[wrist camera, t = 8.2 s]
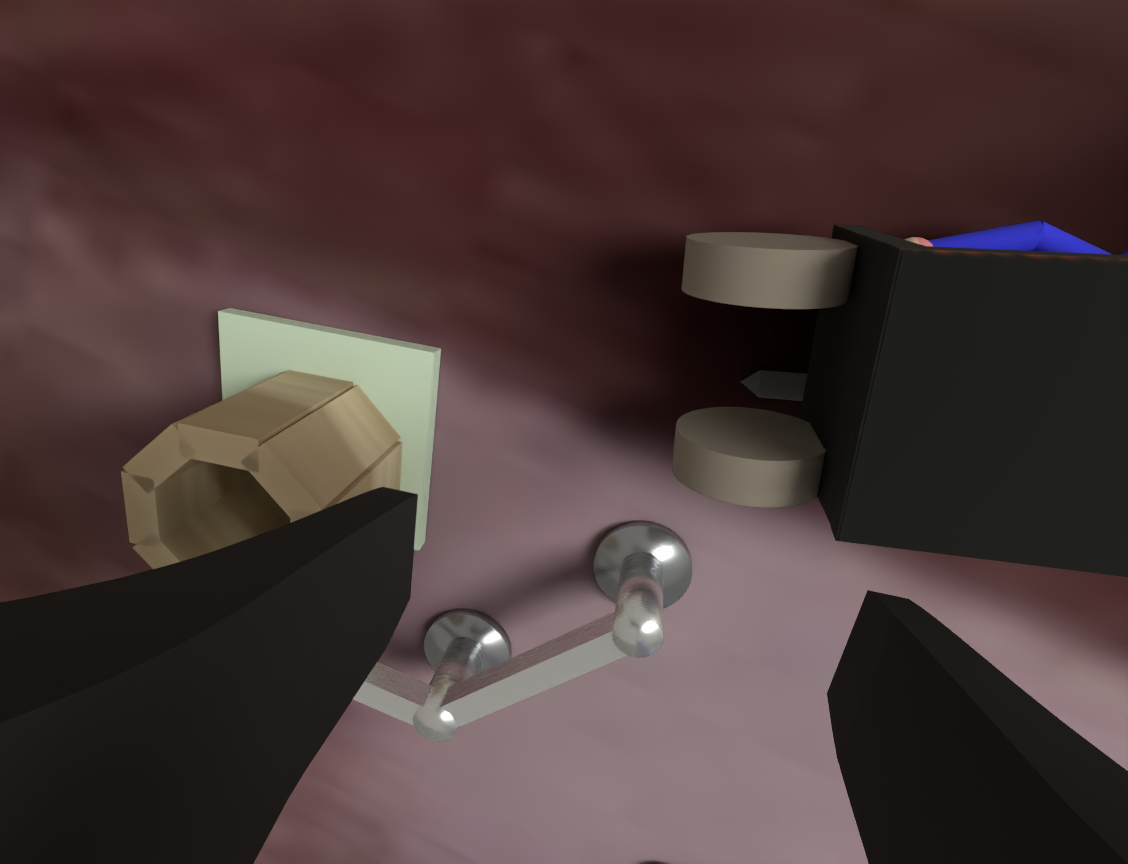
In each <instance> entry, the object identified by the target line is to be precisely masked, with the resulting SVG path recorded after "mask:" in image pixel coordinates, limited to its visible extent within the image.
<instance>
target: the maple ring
mask: <svg viewBox="0 0 1128 864" xmlns="http://www.w3.org/2000/svg"><path fill="white" fill-rule="evenodd" d="M400 438H401V437H400V436H399V434H398V433H397V432H396V431H395V429H394V428H393V427H392V426H391V425H390V423H389V422H388V421H387V420H386V418H385V417H384V416H383V415H382V414H381V412H380V411H379V410H378V409H377V408H376V406H375V405H374V404H373V403H372V401H371V400H370V399H369V398H368V397H367V395H366V394H365V393H364V392H363V390H362V389H361V388H360V387H359V386H358V385H357V386H355V387H354V388H353V382H351V381H345V380H340V379H335V378H330V377H325V376H319V375H314V374H309V373H304V372H298V371H293V370H289V371H287V372H286V371H285V372H282V373H280V374H278V375H276V376H274V377H272V378H270V379H267V380H265V381H263V382H261V383H259V384H257V385H254V386H252V387H250V388H248V389H246V390H244V391H242V392H239V393H237V394H235V395H233V396H231V397H229V398H227V399H224V400H222V401H220V402H218V403H216V404H214V405H211V406H209V407H207V408H205V409H203V410H201V411H199V412H196V413H194V414H192V415H190V416H188V417H186V418H184V419H181V420H179V421H177V422H175V423H173V424H171V425H170V426H169V427H168V428H167V429H165V430H164V431H163V432H162V433H161V434H160V435H159V436H157V437H156V438H155V439H154V440H153V441H152V442H151V443H149V444H148V445H147V446H146V447H145V448H144V449H143V450H141V451H140V452H139V453H138V454H137V455H136V456H135V457H133V458H132V459H131V460H130V461H129V462H128V463H127V464H125V465H124V466H123V468H124V469H125V470H124V471H122V472H121V477H122V485H123V493H124V501H125V509H126V517H127V525H128V533H129V541H130V543H135V544H136V545H135V546H134V547H133V549H134V550H135V551H136V552H137V553H138V554H139V555H140V556H141V557H142V558H143V559H144V560H145V561H146V562H147V563H148V564H149V565H150V566H151V567H152V568H153V569H156V568H160V567H163V566H167V565H171V564H174V563H178V562H181V561H184V560H187V559H191V558H194V557H197V556H200V555H203V554H207V553H210V552H213V551H216V550H218V549H221V548H224V547H227V546H229V545H232V544H235V543H238V542H240V541H243V540H246V539H249V538H251V537H254V536H257V535H260V534H262V533H265V532H268V531H271V530H274V529H276V528H279V527H281V526H284V525H286V524H289V523H291V522H294V521H296V520H299V519H301V518H304V517H306V516H308V515H311V514H313V513H316V512H318V511H321V510H323V509H326V508H328V507H330V506H333V505H335V504H338V503H340V502H342V501H345V500H347V499H350V498H352V497H355V496H357V495H360V494H362V493H365V492H368V491H370V490H373V489H377V488H380V487H387V488H391V489H396V490H400V481H401V463H402V444H403V442H400V441H398V440H399V439H400Z"/></svg>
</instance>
